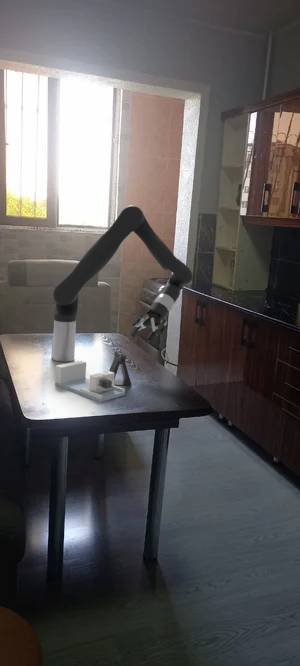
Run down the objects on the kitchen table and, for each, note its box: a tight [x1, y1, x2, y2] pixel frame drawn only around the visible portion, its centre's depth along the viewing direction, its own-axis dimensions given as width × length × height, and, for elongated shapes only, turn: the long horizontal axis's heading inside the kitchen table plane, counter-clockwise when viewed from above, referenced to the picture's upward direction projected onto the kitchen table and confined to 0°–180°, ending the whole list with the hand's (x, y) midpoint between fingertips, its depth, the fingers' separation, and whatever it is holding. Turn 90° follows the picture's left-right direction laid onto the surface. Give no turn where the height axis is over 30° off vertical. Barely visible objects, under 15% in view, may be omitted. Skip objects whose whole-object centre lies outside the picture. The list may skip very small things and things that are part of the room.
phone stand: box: [108, 350, 132, 387], centre depth 191 cm, size 9×6×12 cm, turn 105°
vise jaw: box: [89, 370, 116, 394], centre depth 177 cm, size 5×9×6 cm, turn 139°
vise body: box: [54, 360, 126, 403], centre depth 181 cm, size 24×12×7 cm, turn 49°
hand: (140, 338), depth 197 cm, fingers open, 8 cm apart
